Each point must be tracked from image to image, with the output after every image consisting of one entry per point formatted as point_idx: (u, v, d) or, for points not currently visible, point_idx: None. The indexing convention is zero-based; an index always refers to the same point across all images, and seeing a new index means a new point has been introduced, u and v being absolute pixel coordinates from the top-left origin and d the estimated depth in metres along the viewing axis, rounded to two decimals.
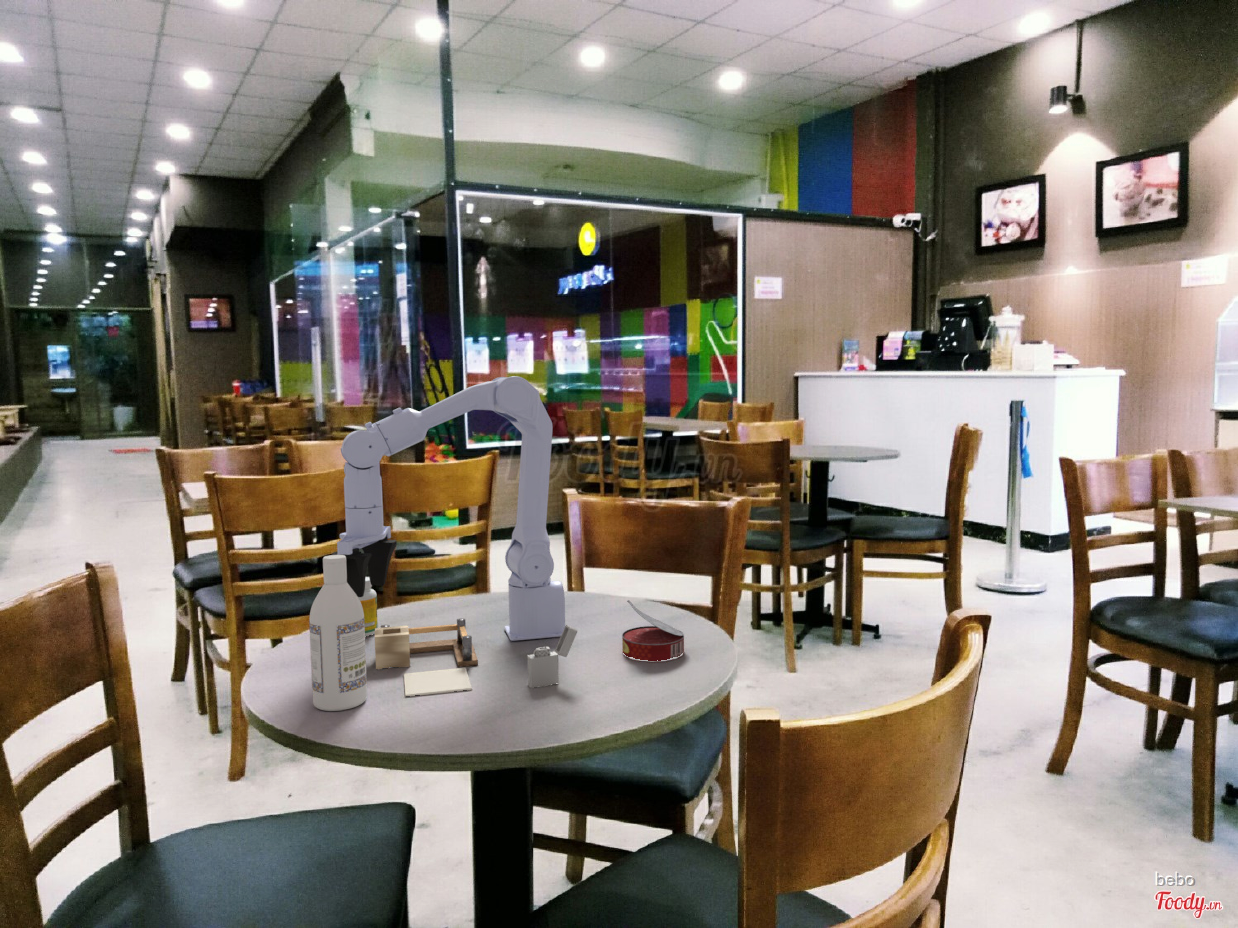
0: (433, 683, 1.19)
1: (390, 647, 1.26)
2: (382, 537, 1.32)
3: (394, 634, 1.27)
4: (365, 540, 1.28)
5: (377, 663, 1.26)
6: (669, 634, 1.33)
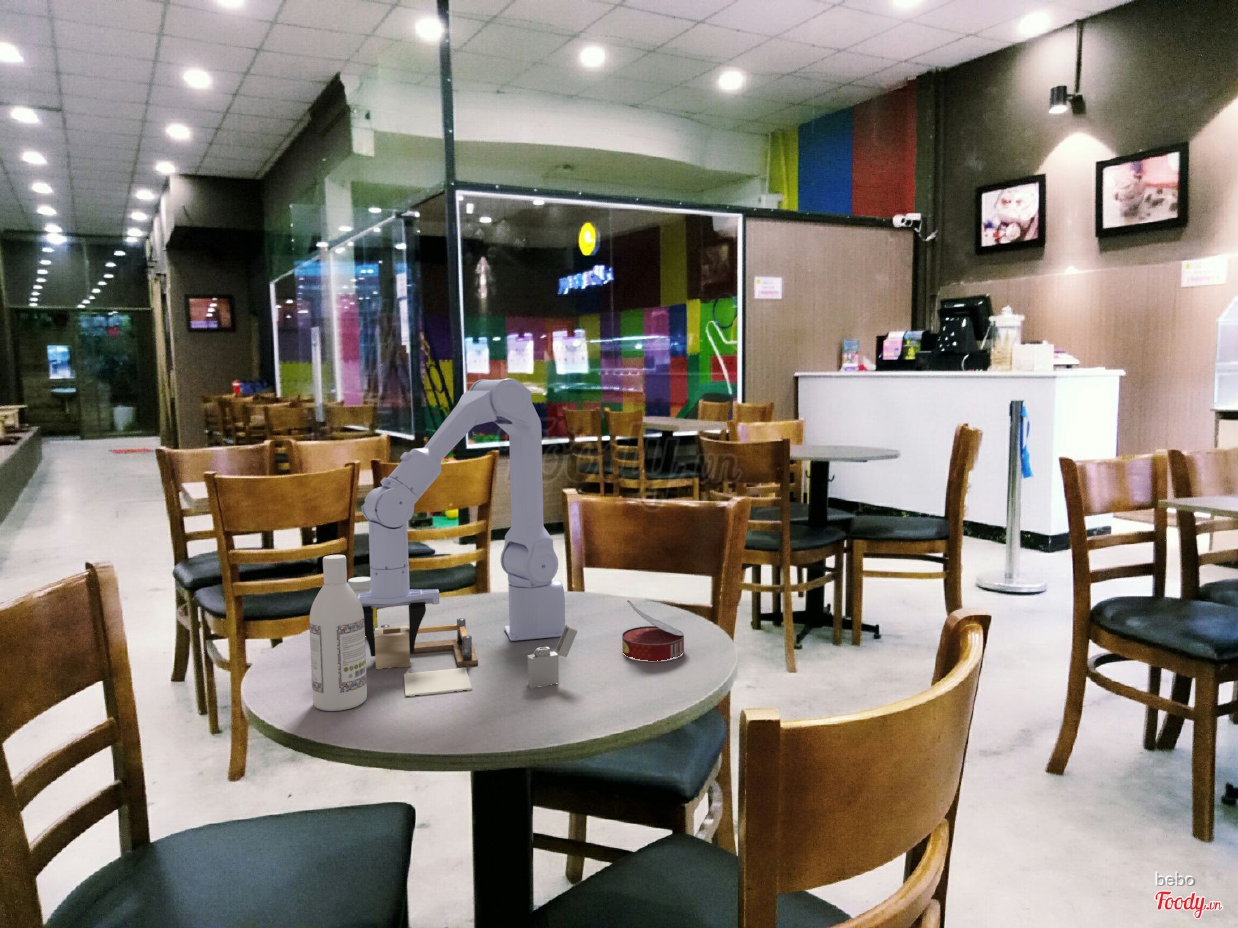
0: (433, 683, 1.19)
1: (390, 647, 1.26)
2: (389, 602, 1.25)
3: (394, 634, 1.27)
4: (364, 601, 1.25)
5: (377, 663, 1.26)
6: (669, 634, 1.33)
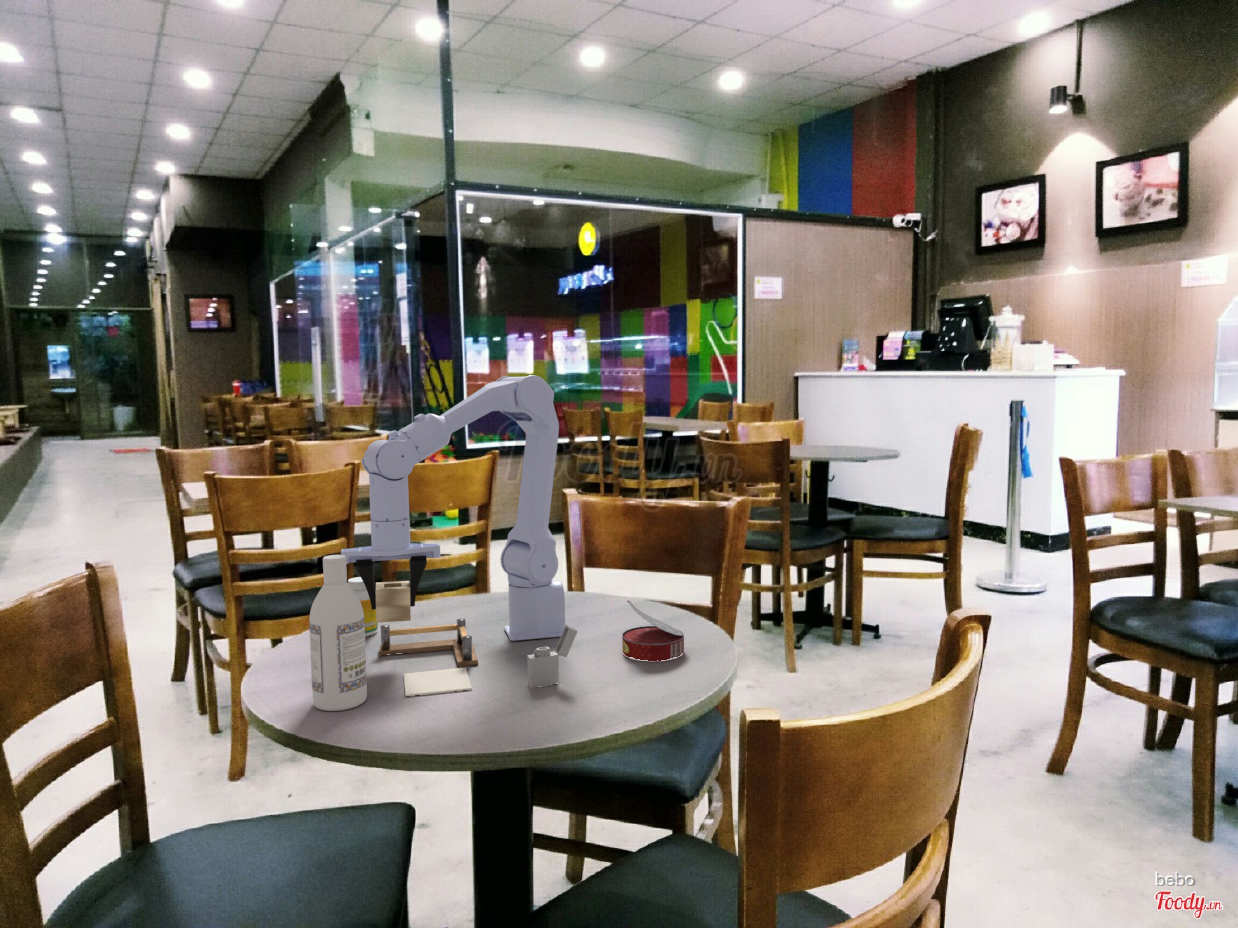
0: (433, 683, 1.19)
1: (391, 600, 1.26)
2: (389, 554, 1.24)
3: (395, 587, 1.26)
4: (365, 553, 1.25)
5: (377, 616, 1.25)
6: (669, 634, 1.33)
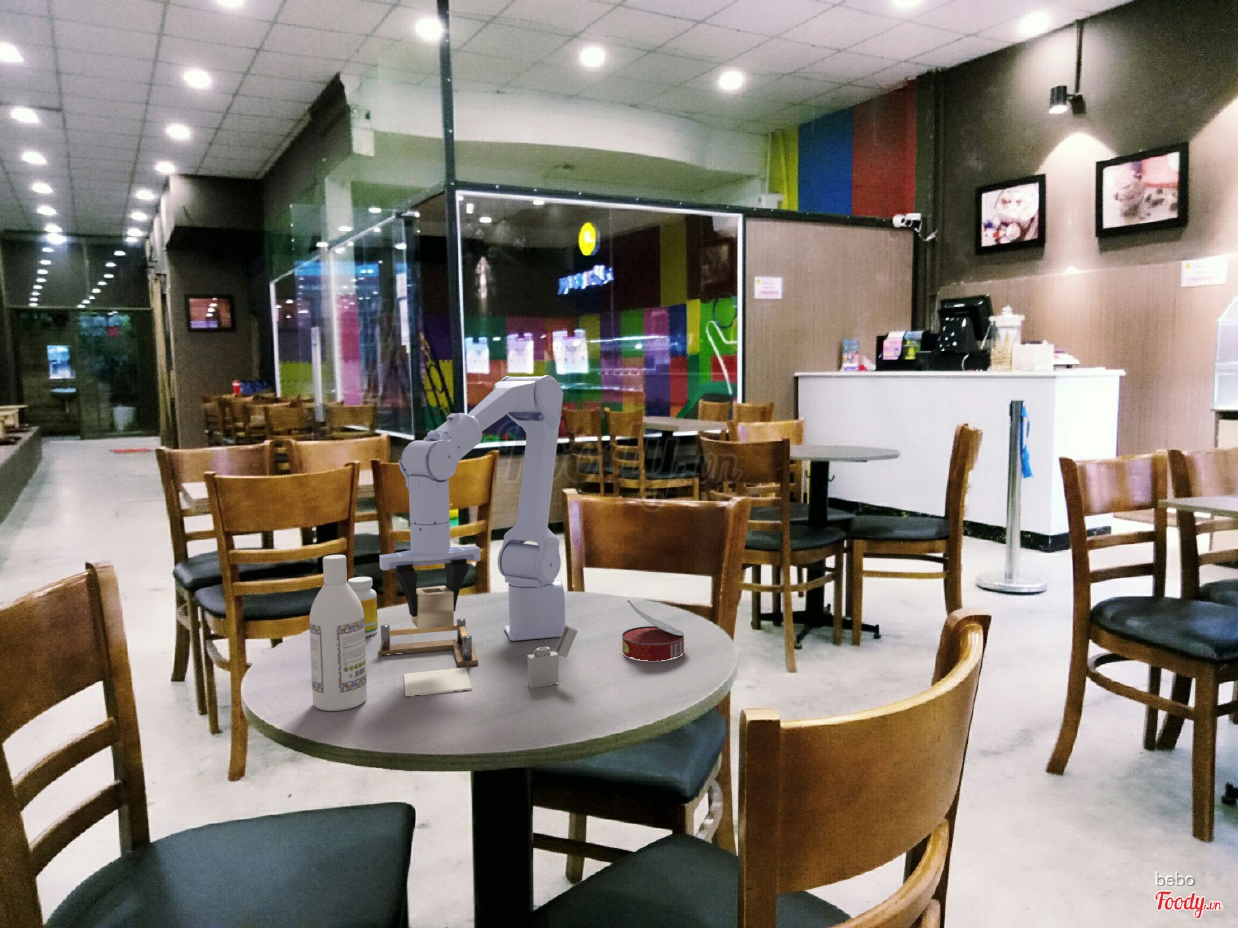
0: (433, 683, 1.19)
1: (435, 606, 1.21)
2: (434, 558, 1.20)
3: (438, 593, 1.22)
4: (408, 558, 1.20)
5: (421, 623, 1.21)
6: (669, 634, 1.33)
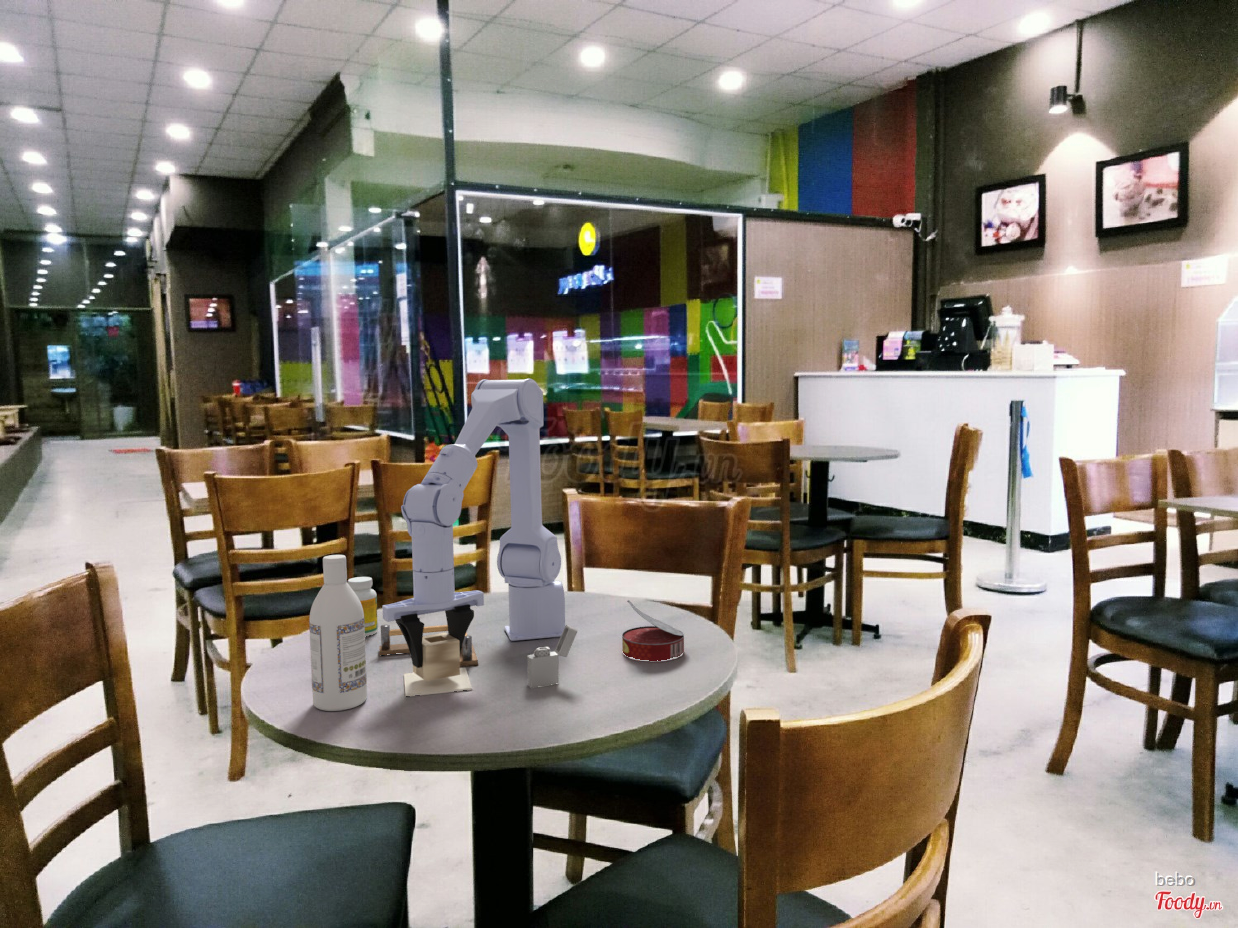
0: (433, 683, 1.19)
1: (441, 656, 1.17)
2: (441, 607, 1.16)
3: (443, 641, 1.18)
4: (414, 608, 1.15)
5: (428, 674, 1.16)
6: (669, 634, 1.33)
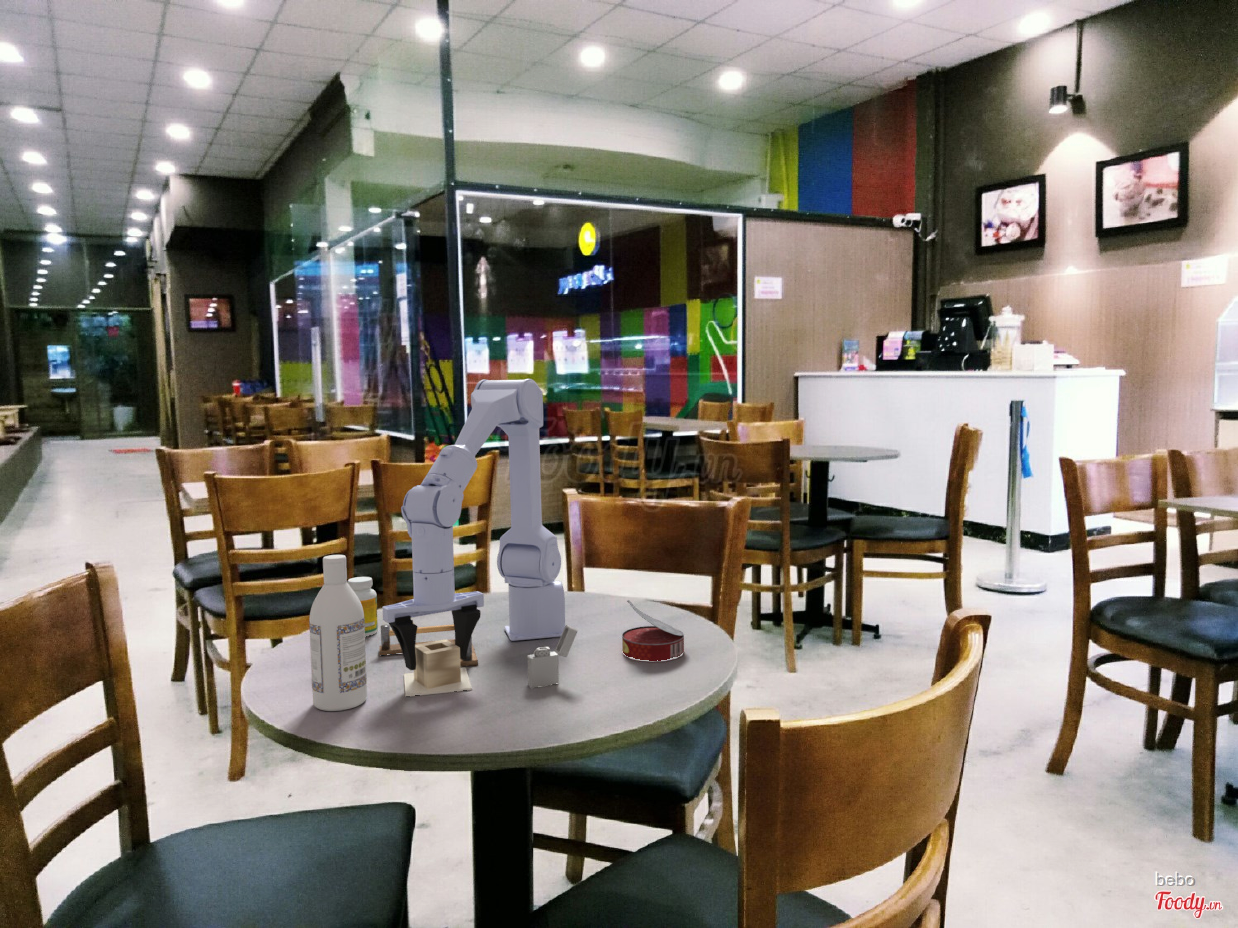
0: None
1: (442, 663, 1.17)
2: (441, 608, 1.16)
3: (444, 649, 1.18)
4: (414, 609, 1.15)
5: (429, 682, 1.17)
6: (669, 634, 1.33)
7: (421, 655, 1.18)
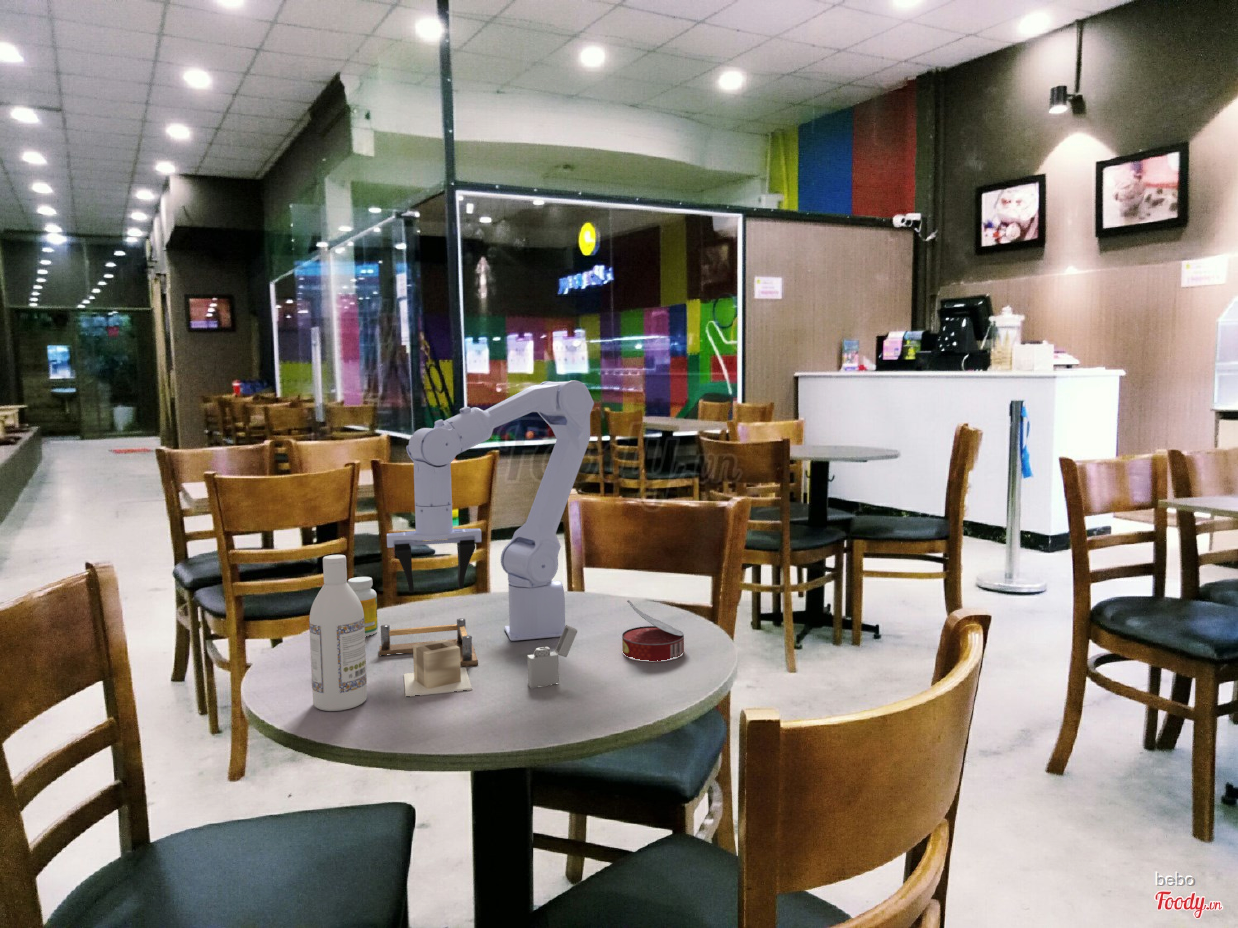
0: None
1: (442, 663, 1.17)
2: (434, 538, 1.29)
3: (444, 649, 1.18)
4: (410, 537, 1.29)
5: (429, 682, 1.17)
6: (669, 634, 1.33)
7: (421, 655, 1.18)
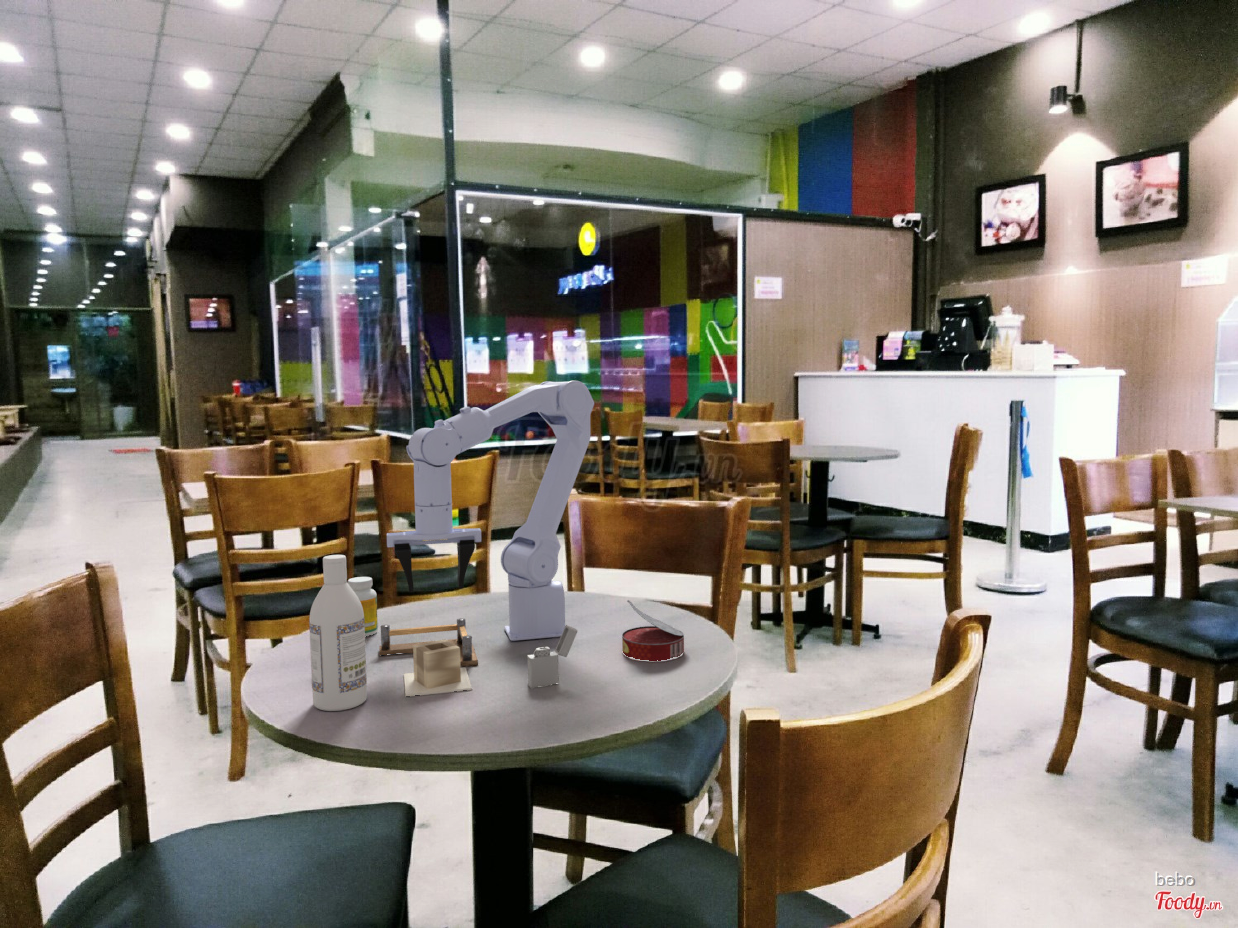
0: None
1: (442, 663, 1.17)
2: (433, 538, 1.29)
3: (444, 649, 1.18)
4: (410, 537, 1.29)
5: (429, 682, 1.17)
6: (669, 634, 1.33)
7: (421, 655, 1.18)
